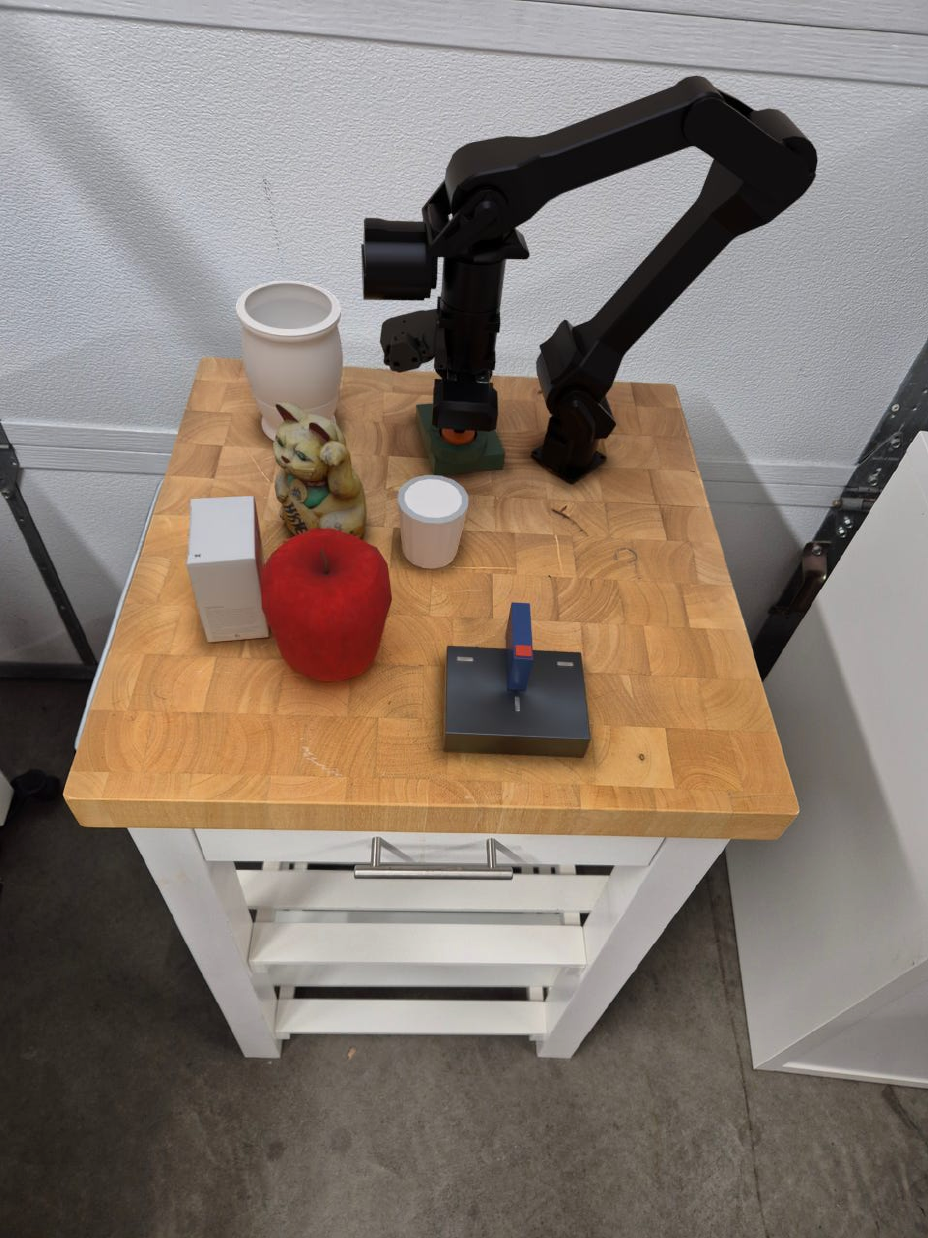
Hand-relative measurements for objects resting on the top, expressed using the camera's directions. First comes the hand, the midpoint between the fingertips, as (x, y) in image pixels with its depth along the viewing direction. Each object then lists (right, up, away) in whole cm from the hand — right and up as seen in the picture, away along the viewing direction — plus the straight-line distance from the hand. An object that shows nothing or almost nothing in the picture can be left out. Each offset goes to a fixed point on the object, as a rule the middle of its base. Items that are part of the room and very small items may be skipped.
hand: (458, 430), depth 89 cm
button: (0, -1, +1) cm, 2 cm away
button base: (0, 0, +5) cm, 5 cm away
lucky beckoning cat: (-14, -11, -5) cm, 18 cm away
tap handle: (+5, -24, -18) cm, 31 cm away
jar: (-18, +2, +5) cm, 19 cm away
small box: (-21, -20, -13) cm, 31 cm away
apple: (-11, -24, -15) cm, 31 cm away
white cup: (-3, -13, -6) cm, 15 cm away
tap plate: (+5, -27, -16) cm, 32 cm away
